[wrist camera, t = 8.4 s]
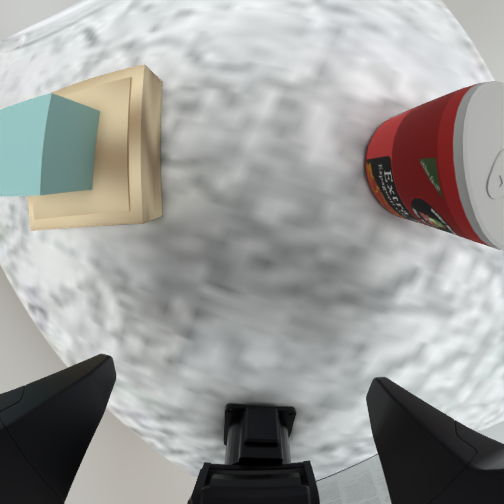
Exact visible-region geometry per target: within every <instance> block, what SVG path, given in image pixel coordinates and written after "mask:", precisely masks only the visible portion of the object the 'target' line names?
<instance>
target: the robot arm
mask: <svg viewBox="0 0 504 504" xmlns="http://www.w3.org/2000/svg"><path fill="white" fill-rule="evenodd" d="M115 381H116V371H115V367H114V362H113V358H112V357H111V356H109V355H105V354H99V355H97V356H94V357H92V358H90V359H87V360H85V361H83V362H80V363H78V364H76V365H73V366H71V367H69V368H66V369H64V370H61V371H59V372H57V373H54V374H52V375H49V376H47V377H44V378H42V379H40V380H37V381H34V382H32V383H30V384H27V385H26V386H22V387H19V388H17V389H14V390H11V391H8V392H5V393H2V394H0V504H64V501H65V500H66V497H67V495H68V492H69V490H70V488H71V485H72V483H73V480H74V478H75V476H76V473H77V471H78V469H79V466H80V464H81V462H82V459H83V457H84V455H85V453H86V450H87V448H88V446H89V444H90V442H91V440H92V437H93V435H94V433H95V431H96V429H97V427H98V425H99V423H100V421H101V418H102V416H103V414H104V412H105V409H106V406H107V403H108V400H109V398H110V395H111V392H112V389H113V386H114V384H115ZM366 402H367V407H368V412H369V418H370V423H371V429H372V434H373V438H374V441H375V445H376V448H377V452H378V455H379V459H380V462H381V466H382V469H383V473H384V477H385V480H386V484H387V488H388V492H389V496H390V500H391V504H504V444H502V443H500V442H498V441H495V440H493V439H491V438H488V437H486V436H484V435H482V434H480V433H478V432H476V431H474V430H472V429H470V428H468V427H466V426H465V425H463V424H461V423H459V422H458V421H456V420H455V421H454V419H453V418H451V417H449V416H448V415H446V414H444V413H443V412H441V411H439V410H438V409H436V408H434V407H433V406H431V405H429V404H428V403H426V402H424V401H423V400H421V399H420V398H418V397H416V396H415V395H413V394H412V393H410V392H408V391H407V390H405V389H404V388H402V387H400V386H399V385H397V384H396V383H394V382H392V381H391V380H389V379H388V378H386V377H376V378H374V379H373V381H372V383H371V386H370V388H369V391H368V393H367V396H366ZM230 409H232V410H230ZM289 412H291V413H289ZM295 416H296V410H295V408H291V407H260V406H245V405H232V404H229V405H227V406H226V407H225V426H224V445H226V446H227V447H226V456H225V464H211V463H207V462H204V465H203V468H202V469H201V470H200V473H199V476H198V478H197V481H196V484H195V487H194V490H193V493H192V496H191V497H190V499H189V500H188V503H187V504H320V498H319V492H318V488H317V484H316V481H315V477H314V473H313V470H312V466H311V463H310V461H303V462H299V463H291V458H290V448H289V437H290V433H291V430H292V426H293V423H294V419H295Z"/></svg>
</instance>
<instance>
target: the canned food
mask: <svg viewBox="0 0 504 504" xmlns="http://www.w3.org/2000/svg"><path fill="white" fill-rule="evenodd" d="M366 174H367V179H368V182H369V185H370V188H371V189H372V191H373V193H374V195H375V196H376V198H377V199H378V200H379V201H380V203H381V204H382V205H383V206H384V207H385V208H386V209H387V210H388V211H390V212H391V213H393V214H395V215H397V216H398V217H402V218H405V219H408V220H412V221H415V222H418V223H421V224H424V225H428V226H431V227H434V228H437V229H440V230H443V231H446V232H449V233H452V234H455V235H458V236H460V237H463V238H466V239H469V240H472V241H474V242H478V243H481V244H484V245H487V246H490V247H493V248H496V249H499V250H500V249H502V250H504V84H503V83H501V82H496V81H491V82H484V83H478V84H475V85H472V86H469V87H466V88H463V89H460V90H457V91H455V92H452V93H449V94H447V95H444V96H442V97H439V98H437V99H434V100H432V101H430V102H427V103H425V104H422V105H420V106H417V107H415V108H413V109H410V110H408V111H406V112H403V113H401V114H399V115H397V116H394V117H392V118H390V119H389V120H387V121H385V122H384V123H383V124H382V125H381V126H380V127H379V128H378V129H377V130H376V132H375V133H374V135H373V137H372V138H371V141H370V143H369V146H368V148H367V153H366Z"/></svg>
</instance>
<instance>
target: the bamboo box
mask: <svg viewBox="0 0 504 504" xmlns="http://www.w3.org/2000/svg"><path fill="white" fill-rule="evenodd" d="M52 93H53V94H56V95H59V96H61V97H64V98H67V99H70V100H72V101H75V102H78V103H81V104H83V105H86V106H88V107H91V108H94V109H96V110H99V111H100V116H99V122H98V129H97V137H96V146H95V156H94V168H93V184H92V190H84V191H74V192H65V193H56V194H48V195H40V196H28V206H29V218H30V228H31V231H35V230H47V229H59V228H73V227H88V226H104V225H122V224H142V223H146V222H148V221H151V220H154V219H156V218H159V217H162V216H163V214H162V193H161V100H162V81H161V80H160V79H159V78H158V77H157V76H156V75H155V74H154V73H153V72H152V71H151V70H150V69H149V68H148V67H147V66H146V65H140V66H136V67H131V68H127V69H123V70H119V71H115V72H112V73H108V74H104V75H101V76H98V77H94V78H91V79H88V80H85V81H82V82H79V83H76V84H73V85H71V86H68V87H65V88H63V89H60V90H57V91H55V92H52Z"/></svg>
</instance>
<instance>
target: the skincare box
mask: <svg viewBox="0 0 504 504" xmlns="http://www.w3.org/2000/svg"><path fill="white" fill-rule="evenodd" d="M316 484H317V488H318V492H319V498H320V504H391V500H390V496H389V492H388V488H387V484H386V480H385V477H384V473H383V469H382V466H381V462H380V459H379V455H378V454H377V455H375V456H374V457H372V458H369V459H367V460H365V461H363V462H361V463H359V464H357V465H355V466H353V467H351V468H348V469H346V470H344V471H342V472H339V473H337V474H335V475H332V476H330V477H327V478H325V479H322V480H320V481H317V482H316Z"/></svg>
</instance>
